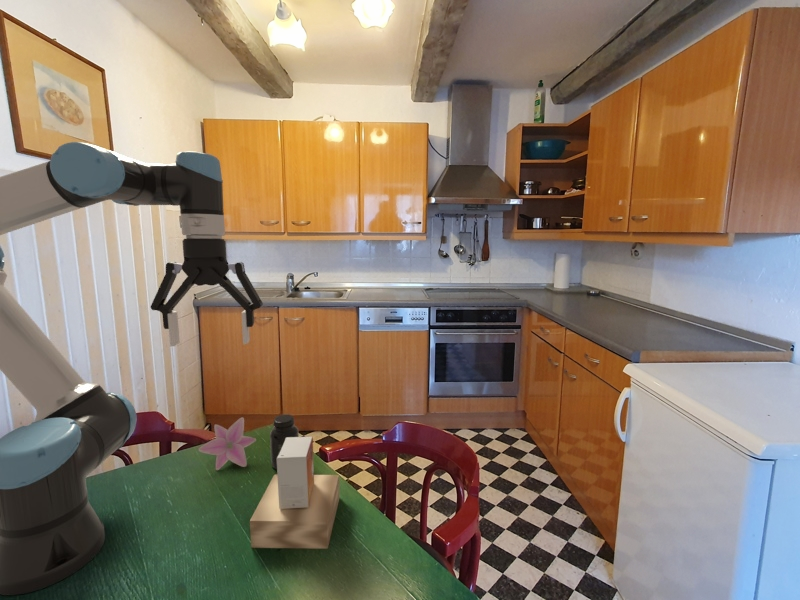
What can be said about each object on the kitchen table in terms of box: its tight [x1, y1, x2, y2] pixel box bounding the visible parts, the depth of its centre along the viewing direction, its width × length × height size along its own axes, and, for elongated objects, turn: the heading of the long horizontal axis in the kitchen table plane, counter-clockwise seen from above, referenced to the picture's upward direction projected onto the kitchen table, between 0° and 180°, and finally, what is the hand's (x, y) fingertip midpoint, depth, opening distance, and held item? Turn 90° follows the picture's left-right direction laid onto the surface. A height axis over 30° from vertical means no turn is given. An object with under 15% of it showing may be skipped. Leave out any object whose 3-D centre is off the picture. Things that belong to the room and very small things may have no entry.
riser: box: [249, 473, 340, 550], centre depth 78 cm, size 14×14×6 cm
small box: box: [276, 436, 315, 509], centre depth 76 cm, size 8×6×10 cm
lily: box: [197, 416, 257, 471], centre depth 99 cm, size 12×12×10 cm
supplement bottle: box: [269, 413, 300, 470], centre depth 97 cm, size 7×7×12 cm
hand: (211, 343), depth 79 cm, fingers open, 13 cm apart
